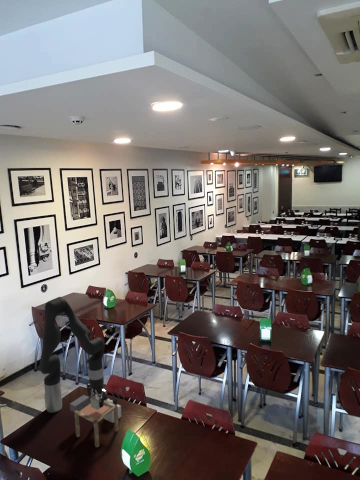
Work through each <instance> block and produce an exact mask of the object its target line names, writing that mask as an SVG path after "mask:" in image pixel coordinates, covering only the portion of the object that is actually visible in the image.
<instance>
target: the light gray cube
mask: <svg viewBox="0 0 360 480" xmlns="http://www.w3.org/2000/svg"><path fill="white" fill-rule="evenodd" d="M101 398H102V397H101ZM89 400H90V404H91V407H92V408H94V409H97V410H98V409H100V406H99V398H98V397H97V394H96V395H95V396H93V397H92V398H91V397H89Z"/></svg>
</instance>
